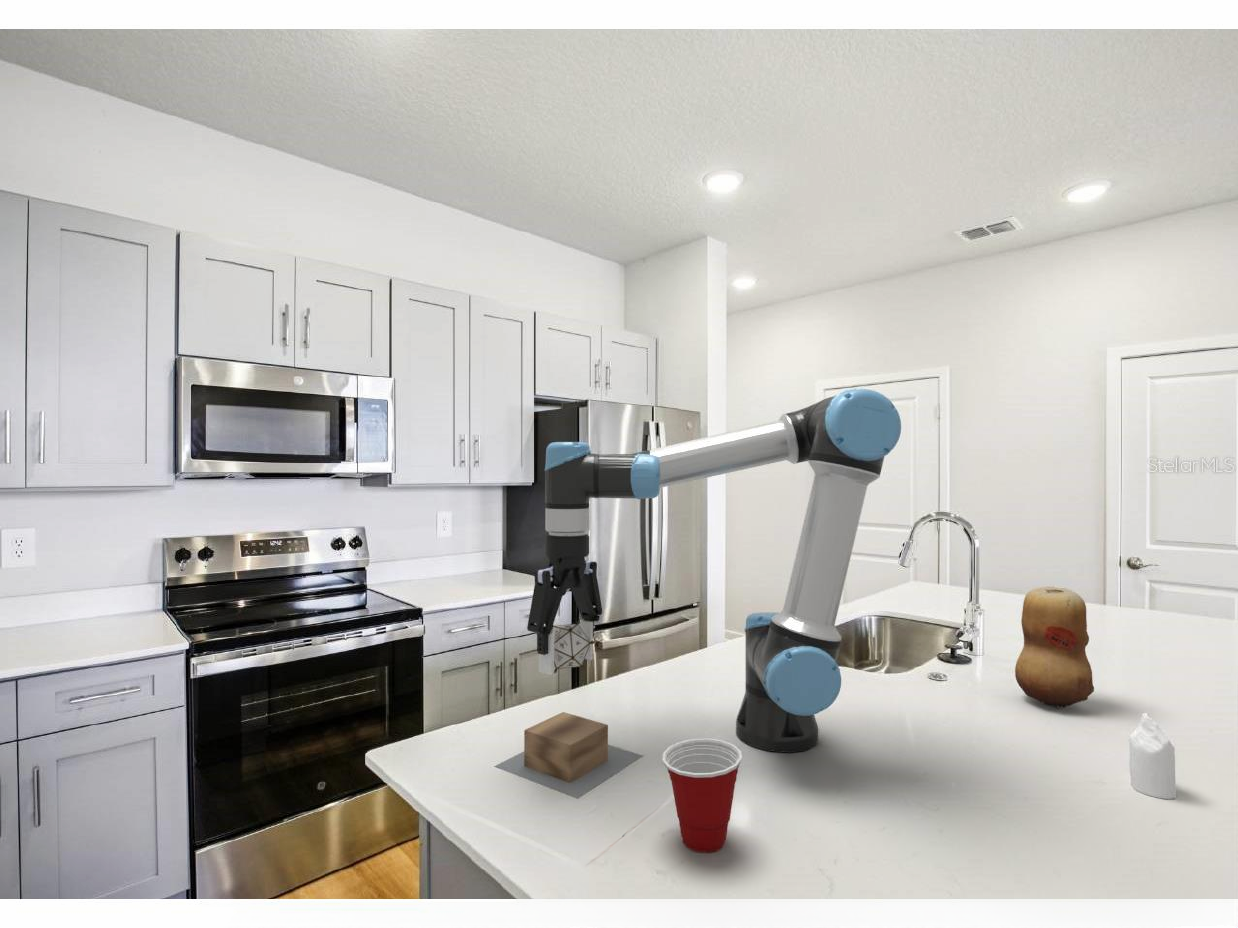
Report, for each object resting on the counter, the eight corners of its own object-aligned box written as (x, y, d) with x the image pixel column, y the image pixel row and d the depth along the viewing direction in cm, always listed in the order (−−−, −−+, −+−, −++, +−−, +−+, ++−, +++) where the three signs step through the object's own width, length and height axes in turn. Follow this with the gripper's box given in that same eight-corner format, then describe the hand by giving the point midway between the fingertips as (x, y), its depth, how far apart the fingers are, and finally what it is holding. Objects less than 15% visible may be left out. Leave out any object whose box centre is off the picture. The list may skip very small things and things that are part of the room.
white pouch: (1185, 721, 100) (1148, 721, 100) (1185, 799, 99) (1148, 799, 100) (1154, 707, 106) (1119, 706, 106) (1154, 780, 105) (1119, 780, 106)
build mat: (643, 758, 113) (643, 755, 113) (577, 802, 98) (577, 798, 98) (564, 733, 123) (564, 730, 123) (494, 769, 109) (494, 766, 109)
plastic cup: (656, 820, 93) (656, 736, 93) (730, 817, 94) (730, 734, 94) (668, 867, 82) (668, 772, 82) (752, 863, 83) (752, 769, 83)
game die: (574, 694, 109) (583, 657, 103) (529, 673, 110) (535, 635, 105) (595, 655, 116) (604, 618, 110) (552, 635, 118) (559, 598, 112)
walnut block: (607, 759, 111) (607, 724, 111) (570, 782, 103) (570, 744, 103) (563, 745, 117) (563, 711, 117) (524, 765, 109) (524, 730, 109)
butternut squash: (1021, 711, 136) (1021, 591, 136) (1010, 690, 148) (1010, 581, 148) (1102, 721, 130) (1102, 596, 130) (1083, 699, 143) (1083, 585, 143)
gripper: (590, 527, 121) (589, 647, 121) (504, 537, 103) (503, 678, 103) (622, 529, 117) (622, 653, 117) (539, 540, 99) (538, 687, 99)
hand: (566, 665), depth 110 cm, fingers closed on game die, 9 cm apart
